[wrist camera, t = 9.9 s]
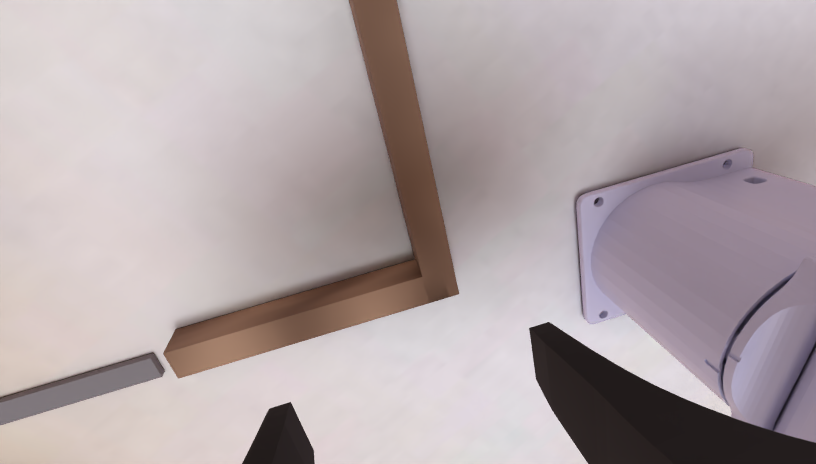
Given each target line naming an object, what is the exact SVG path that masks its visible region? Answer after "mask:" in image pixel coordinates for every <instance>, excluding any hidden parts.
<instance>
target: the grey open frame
mask: <svg viewBox="0 0 816 464" xmlns="http://www.w3.org/2000/svg"><path fill="white" fill-rule="evenodd" d="M164 372H165V371H164V369H163V368H162V366H161V365H160V363H159V361H158V360H157V358H156V356H155V355H154V353H151V354H148V355H145V356H141V357H138V358H134V359H131V360H128V361H124V362H121V363H118V364H114V365H111V366H107V367H104V368H101V369H97V370H94V371H90V372H87V373H84V374H80V375H77V376H74V377H70V378H67V379H63V380H60V381H57V382H53V383H50V384H47V385H43V386H40V387H36V388H33V389H30V390H26V391H23V392H20V393H16V394H13V395H9V396H6V397H3V398H0V425H3V424H6V423H10V422H13V421H16V420H20V419H23V418H26V417H30V416H33V415H36V414H39V413H43V412H46V411H49V410H53V409H56V408H59V407H63V406H66V405H69V404H73V403H76V402H79V401H83V400H86V399H89V398H93V397H96V396H99V395H103V394H106V393H109V392H113V391H116V390H119V389H123V388H126V387H129V386H133V385H136V384H139V383H143V382H146V381H149V380H153V379H156V378H159V377H162V376H163V374H164Z"/></svg>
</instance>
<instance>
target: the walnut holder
mask: <svg viewBox="0 0 816 464" xmlns="http://www.w3.org/2000/svg"><path fill="white" fill-rule="evenodd" d="M349 3H350V6H351V10H352V14H353V18H354V22H355V26H356V30H357V34H358V38H359V42H360V46H361V50H362V53H363V57H364V61H365V65H366V69H367V73H368V77H369V81H370V85H371V89H372V93H373V97H374V100H375V104H376V108H377V112H378V116H379V120H380V124H381V128H382V132H383V136H384V140H385V144H386V147H387V151H388V155H389V159H390V163H391V167H392V171H393V175H394V179H395V183H396V187H397V191H398V194H399V198H400V202H401V206H402V210H403V214H404V218H405V222H406V226H407V230H408V234H409V238H410V241H411V245H412V249H413V253H414V257H415V259H414V260H411V261H407V262H404V263H400V264H397V265H394V266H390V267H387V268H383V269H380V270H376V271H373V272H370V273H366V274H363V275H359V276H356V277H353V278H349V279H346V280H342V281H339V282H336V283H332V284H329V285H325V286H322V287H319V288H315V289H312V290H308V291H305V292H302V293H298V294H295V295H291V296H288V297H284V298H281V299H278V300H274V301H271V302H267V303H264V304H261V305H257V306H254V307H250V308H247V309H244V310H240V311H237V312H233V313H230V314H227V315H223V316H220V317H216V318H213V319H210V320H206V321H203V322H199V323H196V324H192V325H189V326H186V327H182V328H179V329H176V330H175V332H174V333H173V335H172V337H171V339H170V341H169V343H168V345H167V347H166V349H165V351H164V353H163V354H164V356H165V358H166V359H167V361H168V362H169V364H170V366H171V367H172V369H173V371H174V372H175V374H176V376H177V377H178V378H182V377H185V376H188V375H192V374H195V373H198V372H202V371H205V370H208V369H212V368H215V367H218V366H222V365H225V364H228V363H232V362H235V361H238V360H242V359H245V358H248V357H252V356H255V355H258V354H262V353H265V352H268V351H271V350H275V349H278V348H281V347H285V346H288V345H291V344H295V343H298V342H301V341H305V340H308V339H311V338H315V337H318V336H321V335H325V334H328V333H331V332H335V331H338V330H341V329H345V328H348V327H351V326H355V325H358V324H361V323H364V322H368V321H371V320H374V319H378V318H381V317H384V316H388V315H391V314H394V313H398V312H401V311H404V310H408V309H411V308H414V307H418V306H421V305H424V304H428V303H431V302H434V301H438V300H441V299H444V298H447V297H451V296H454V295H457V294H459V291H458V287H457V282H456V277H455V273H454V268H453V263H452V258H451V254H450V249H449V244H448V240H447V235H446V230H445V226H444V221H443V216H442V212H441V207H440V202H439V197H438V193H437V188H436V183H435V179H434V174H433V169H432V165H431V160H430V155H429V151H428V146H427V141H426V136H425V132H424V127H423V122H422V118H421V113H420V108H419V104H418V99H417V94H416V90H415V85H414V80H413V75H412V71H411V66H410V61H409V57H408V52H407V47H406V43H405V38H404V33H403V29H402V24H401V19H400V14H399V10H398V5H397V0H349Z"/></svg>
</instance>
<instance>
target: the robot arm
mask: <svg viewBox="0 0 816 464" xmlns="http://www.w3.org/2000/svg"><path fill="white" fill-rule="evenodd" d="M753 158H754V155H753V152H752V150H750V149H746V148H740V149H736V150H733V151H729V152H726V153H722V154H719V155H715V156H712V157H709V158H705V159H702V160H698V161H695V162H691V163H688V164H685V165H681V166H678V167H674V168H671V169H667V170H664V171H660V172H657V173H654V174H650V175H647V176H643V177H640V178H636V179H633V180H630V181H626V182H623V183H619V184H616V185H612V186H609V187H605V188H602V189H599V190H595V191H592V192H588V193H585V194H583V195H581V196H580V197H579V198H578V200H577V204H576V208H577V223H578V238H579V254H580V269H581V284H582V299H583V315H584V319H585V320H586V321H587V322H588V323H589V324H596V323H599V322H602V321H605V320H608V319H612V318H615V317H618V316H621V315H624V314H627V315H628V316H629V317H630V318H631V319H632V320H634V321H635V322H636V323H637V324H638V325H639V326H640V327H641V328H642V329H644V330H645V331H646V332H647V333H648V334H649V335H650V336H651V337H652V338H654V339H655V340H656V341H657V342H658V343H659V344H660V345H661V346H662V347H664V348H665V349H666V350H667V351H668V352H669V353H670V354H671V355H673V356H674V357H675V358H676V359H677V360H678V361H679V362H680V363H681V364H683V365H684V366H685V367H686V368H687V369H688V370H689V371H690V372H691V373H693V374H694V375H695V376H696V377H697V378H698V379H699V380H700V381H701V382H703V383H704V384H705V385H706V386H707V387H708V388H709V389H710V390H711V391H713V392H714V393H715V394H716V395H717V396H718V397H719V398H720V399H722V400H723V401H724V402H725V403H726V404H727V405H728V406H730V408H731V413H732V414H731V417H729V416H727V415H724V414H722V413H719V412H716V411H714V410H711V409H708V408H706V407H703V406H700V405H698V404H696V403H693V402H691V401H688V400H686V399H684V398H681V397H679V396H677V395H675V394H673V393H670V392H668V391H666V390H664V389H662V388H659V387H657V386H655V385H653V384H651V383H649V382H647V381H645V380H643V379H642V378H640V377H638V376H636V375H634V374H632V373H630V372H628V371H627V370H625V369H623V368H621V367H620V366H618V365H616V364H614V363H613V362H611V361H609V360H608V359H606V358H604V357H603V356H601V355H599V354H598V353H596V352H594V351H593V350H591V349H590V348H588V347H586V346H585V345H583V344H582V343H580V342H579V341H577V340H576V339H574V338H573V337H571V336H570V335H568V334H567V333H565V332H563V331H562V330H560V329H559V328H557V327H556V326H554V325H553V324H551V323H549V322H547V323H544V324H541V325H538V326H535V327H531V328H529V330H530V337H531V344H532V352H533V359H534V367H535V374H536V380H537V382H538V384H539V386H540V388H541V390H542V392H543V394H544V396H545V397H546V399H547V401H548V403H549V405H550V407H551V409H552V411H553V412H554V414H555V415H556V417H557V418H558V420H559V421H560V423H561V424H562V426H563V427H564V429H565V430H566V432H567V433H568V434H569V436H570V437H571V439H572V440H573V442H574V443H575V445H576V446H577V448H578V449H579V451H580V452H581V454H582V455H583V457H584V458H585V459H586V461H587V462H588V464H816V186H813V185H810V184H807V183H803V182H800V181H796V180H793V179H790V178H786V177H783V176H779V175H776V174H773V173H769V172H766V171H762V170H759V169H756V168H752V166H753ZM725 161H726V162H725ZM724 162H725V164H724V166H723V163H724ZM598 197H599V201H598V202H597V203H596V204H594V201H595V199H596V198H598ZM602 311H603V312H602ZM601 312H602V313H601ZM600 313H601V314H600ZM242 464H315V463H314V450H313V448H312V446H311V444H310V442H309V440H308V437H307V435H306V433H305V431H304V429H303V427H302V425H301V423H300V421H299V419H298V417H297V414H296V412H295V410H294V408H293V406H292V404H291V402H289V403H286V404H283V405H280V406H276V407H273V408H270V409H269V411H268V412H267V414H266V416H265V418H264V420H263V422H262V424H261V427H260V429H259V431H258V433H257V435H256V437H255V439H254V441H253V443H252V445H251V447H250V449H249V451H248V453H247V455H246V457H245V459H244V461H243V463H242Z"/></svg>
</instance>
